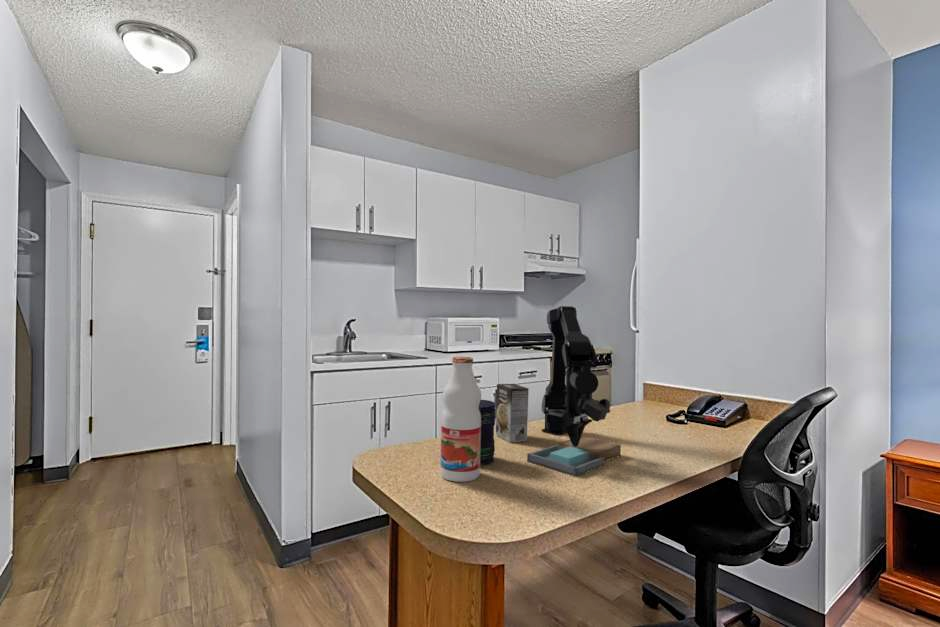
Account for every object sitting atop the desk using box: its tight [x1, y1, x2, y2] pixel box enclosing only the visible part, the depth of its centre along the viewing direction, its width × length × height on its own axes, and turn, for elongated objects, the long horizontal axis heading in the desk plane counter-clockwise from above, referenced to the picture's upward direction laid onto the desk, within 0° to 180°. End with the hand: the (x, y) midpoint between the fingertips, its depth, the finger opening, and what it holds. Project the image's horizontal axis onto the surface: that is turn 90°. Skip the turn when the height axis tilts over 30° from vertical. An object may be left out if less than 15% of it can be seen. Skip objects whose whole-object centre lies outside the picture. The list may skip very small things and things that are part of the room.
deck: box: [560, 435, 622, 462], centre depth 133 cm, size 12×11×3 cm
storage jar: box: [479, 399, 496, 466], centre depth 127 cm, size 10×10×15 cm
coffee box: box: [495, 383, 530, 444], centre depth 148 cm, size 9×6×16 cm
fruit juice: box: [439, 356, 482, 483], centre depth 115 cm, size 9×9×28 cm
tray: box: [526, 444, 605, 477], centre depth 125 cm, size 15×12×2 cm
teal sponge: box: [550, 447, 589, 466], centre depth 126 cm, size 6×9×2 cm, turn 134°
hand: (575, 446), depth 129 cm, fingers closed
